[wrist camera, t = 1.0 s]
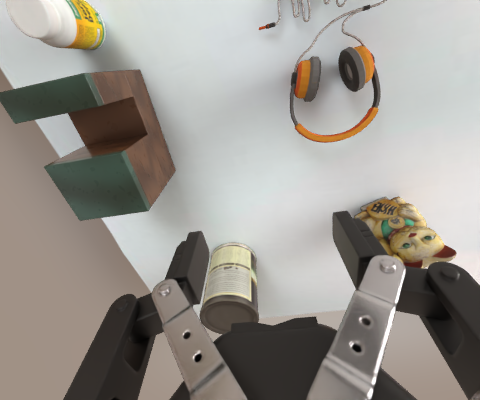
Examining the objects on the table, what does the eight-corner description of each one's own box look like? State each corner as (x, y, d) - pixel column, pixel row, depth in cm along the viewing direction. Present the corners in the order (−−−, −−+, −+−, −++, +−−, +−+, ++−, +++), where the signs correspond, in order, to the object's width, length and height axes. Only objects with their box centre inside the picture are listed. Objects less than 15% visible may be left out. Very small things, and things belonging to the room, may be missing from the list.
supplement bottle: (59, 27, 31) (-10, 14, 22) (75, -12, 28) (5, -42, 20) (97, 59, 32) (45, 58, 24) (114, 25, 30) (64, 11, 22)
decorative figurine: (396, 184, 41) (464, 240, 28) (411, 215, 44) (478, 278, 31) (345, 210, 44) (385, 272, 31) (362, 237, 47) (404, 303, 34)
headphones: (416, -76, 23) (413, 128, 29) (388, -40, 28) (391, 127, 34) (251, -23, 26) (279, 155, 31) (253, 1, 31) (277, 150, 36)
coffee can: (265, 261, 52) (270, 322, 40) (232, 280, 55) (227, 341, 43) (235, 234, 48) (231, 292, 36) (201, 256, 52) (187, 316, 40)
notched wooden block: (77, 83, 34) (-6, 93, 23) (140, 69, 33) (84, 73, 22) (124, 179, 42) (79, 221, 31) (175, 170, 41) (148, 211, 30)
